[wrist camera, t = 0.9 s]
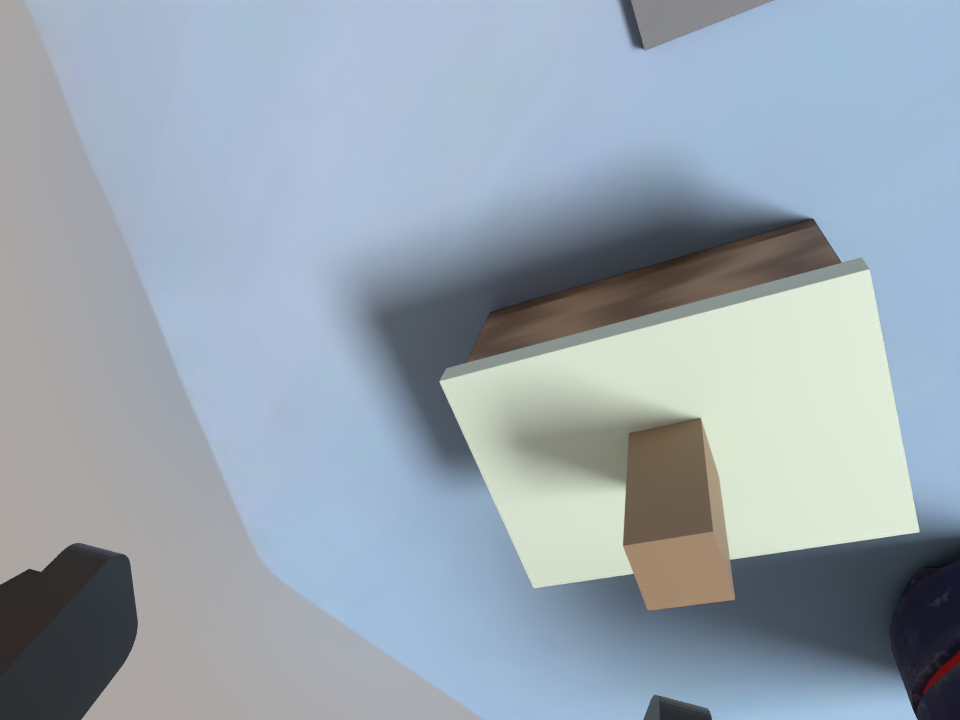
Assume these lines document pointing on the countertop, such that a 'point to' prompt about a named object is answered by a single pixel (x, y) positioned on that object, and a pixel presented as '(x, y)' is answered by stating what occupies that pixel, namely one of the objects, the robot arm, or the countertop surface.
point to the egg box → (657, 288)
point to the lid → (694, 437)
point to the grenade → (930, 642)
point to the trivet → (683, 16)
